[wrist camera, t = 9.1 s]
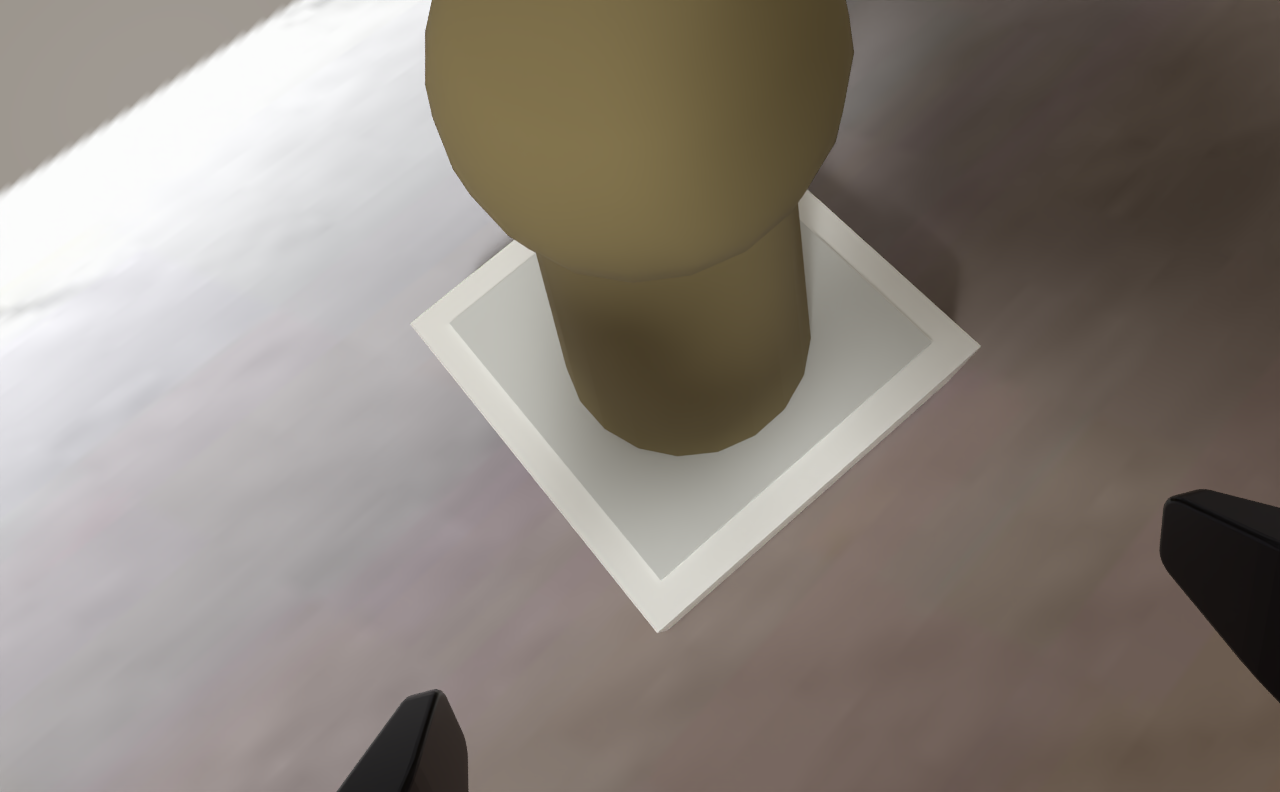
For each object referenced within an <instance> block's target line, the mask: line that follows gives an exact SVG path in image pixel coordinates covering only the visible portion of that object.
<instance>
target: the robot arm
mask: <svg viewBox="0 0 1280 792" xmlns="http://www.w3.org/2000/svg"><path fill="white" fill-rule="evenodd" d="M1160 557H1161V560H1162V563H1163V565H1164V567H1165V568H1166V570H1167V571H1168V573H1169V574H1170V575H1171V576H1172V578H1173V579H1174V580H1175V581H1176V583H1177V584H1178V585H1179V586H1180V587H1181V589H1182V590H1183V591H1184V592H1185V593H1186V595H1187V596H1188V597H1189V598H1190V600H1191V601H1192V602H1193V603H1194V604H1195V606H1196V607H1197V608H1198V609H1199V610H1200V612H1201V613H1202V614H1203V615H1204V617H1205V618H1206V619H1207V620H1208V621H1209V623H1210V624H1211V625H1212V626H1213V627H1214V629H1215V630H1216V631H1217V632H1218V634H1219V635H1220V636H1221V637H1222V638H1223V640H1224V641H1225V642H1226V643H1227V644H1228V646H1229V647H1230V648H1231V649H1232V651H1233V652H1234V653H1235V654H1236V655H1237V657H1238V658H1239V659H1240V660H1241V661H1242V662H1243V664H1244V665H1245V666H1246V667H1247V668H1248V669H1249V671H1250V672H1251V673H1252V674H1253V675H1254V676H1255V677H1256V679H1257V680H1258V681H1259V682H1260V683H1261V684H1262V685H1263V686H1264V687H1265V688H1266V689H1267V690H1268V691H1269V692H1270V693H1271V694H1272V695H1273V697H1274V698H1275V699H1276V700H1277V701H1278V702H1279V703H1280V508H1278V507H1275V506H1271V505H1267V504H1263V503H1259V502H1255V501H1251V500H1247V499H1243V498H1239V497H1235V496H1231V495H1227V494H1223V493H1219V492H1216V491H1212V490H1207V489H1199V490H1194V491H1190V492H1186V493H1182V494H1178V495H1174V496H1172V497H1170V498H1169V499H1168V500H1167V501H1166V503H1165V504H1164V508H1163V517H1162V528H1161V538H1160ZM337 792H468V753H467V746H466V741H465V738H464V735H463V732H462V730H461V728H460V726H459V724H458V721H457V719H456V717H455V715H454V713H453V710H452V708H451V706H450V704H449V702H448V699H447V697H446V695H445V694H444V693H443V692H442V691H441V690H438V689H434V690H430V691H426V692H422V693H419V694H415V695H411V696H409V697H407V698H406V699H405V700H404V701H403V702H402V703H401V704H400V706H399V707H398V708H397V710H396V711H395V713H394V714H393V715H392V717H391V718H390V719H389V721H388V722H387V723H386V725H385V726H384V728H383V729H382V730H381V732H380V733H379V734H378V736H377V737H376V739H375V740H374V741H373V743H372V744H371V745H370V747H369V748H368V749H367V751H366V752H365V754H364V755H363V756H362V758H361V759H360V760H359V762H358V763H357V765H356V766H355V767H354V769H353V770H352V771H351V773H350V774H349V775H348V777H347V778H346V780H345V781H344V782H343V784H342V785H341V786H340V788H339V789H338V791H337Z"/></svg>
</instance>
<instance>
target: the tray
mask: <svg viewBox="0 0 1280 792" xmlns="http://www.w3.org/2000/svg"><path fill="white" fill-rule="evenodd" d="M798 207H799V218H800V229H801V239H802V250H803V261H804V271H805V282H806V293H807V303H808V314H809V324H810V335H811V340H810V345H809V351H808V356H807V362H806V367H805V373H804V376H803V378H802V380H801V381H800V383H799V385H798V387H797V388H796V390H795V392H794V394H793V395H792V397H791V399H790V401H789V403H788V404H787V406H786V408H785V409H784V410H783V411H782V412H781V413H780V414H779V415H778V416H776V417H775V418H774V419H773V420H772V421H771V422H770V423H769V424H767V425H766V426H765V427H764V428H763V429H762V430H761V431H760V432H759V433H757V434H756V435H755V436H753V437H751V438H748V439H746V440H744V441H742V442H739V443H737V444H735V445H733V446H730V447H728V448H726V449H724V450H721V451H719V452H713V453H704V454H695V455H685V456H673V455H668V454H664V453H659V452H654V451H649V450H644V449H639V448H637V447H635V446H633V445H632V444H630V443H628V442H626V441H625V440H623V439H621V438H619V437H618V436H616V435H614V434H612V433H611V432H609V431H607V430H605V429H604V428H603V426H602V425H601V424H600V423H599V422H598V421H597V420H596V419H595V417H594V416H593V415H592V414H591V413H590V412H589V411H588V410H587V408H586V407H585V406H584V405H583V404H582V403H581V402H580V400H579V397H578V395H577V392H576V390H575V388H574V385H573V383H572V380H571V378H570V375H569V373H568V371H567V368H566V365H565V361H564V357H563V353H562V350H561V346H560V342H559V338H558V335H557V331H556V327H555V323H554V320H553V316H552V312H551V308H550V305H549V301H548V297H547V293H546V290H545V286H544V282H543V278H542V275H541V271H540V267H539V263H538V260H537V256H536V253H535V252H533V251H531V250H529V249H528V248H526V247H525V246H523V245H522V244H520V243H519V242H517V241H516V240H513V241H512V242H511V243H510V244H508V245H507V246H506V247H505V248H504V249H502V250H501V251H500V252H499V253H497V254H496V255H495V256H494V257H492V258H491V259H490V260H489V261H487V262H486V263H485V264H484V265H482V266H481V267H480V268H479V269H477V270H476V271H475V272H474V273H472V274H471V275H470V276H469V277H467V278H466V279H465V280H464V281H462V282H461V283H460V284H459V285H457V286H456V287H455V288H454V289H452V290H451V291H450V292H449V293H447V294H446V295H445V296H444V297H443V298H441V299H440V300H439V301H438V302H436V303H435V304H434V305H433V306H431V307H430V308H429V309H428V310H426V311H425V312H424V313H423V314H421V315H420V316H419V317H418V318H416V319H415V320H414V321H413V322H411V323H410V324H411V326H412V327H413V328H414V329H415V331H416V332H417V333H418V334H419V336H420V337H421V338H422V339H423V341H424V342H425V343H426V344H427V346H428V347H429V348H430V349H431V351H432V352H433V353H434V354H435V356H436V357H437V358H438V359H439V361H440V362H441V363H442V364H443V366H444V367H445V368H446V369H447V371H448V372H449V373H450V374H451V376H452V377H453V378H454V379H455V381H456V382H457V383H458V384H459V386H460V387H461V388H462V389H463V391H464V392H465V393H466V394H467V396H468V397H469V398H470V399H471V401H472V402H473V403H474V404H475V406H476V407H477V408H478V409H479V411H480V412H481V413H482V414H483V416H484V417H485V418H486V419H487V421H488V422H489V423H490V424H491V426H492V427H493V428H494V429H495V431H496V432H497V433H498V434H499V436H500V437H501V438H502V439H503V441H504V442H505V443H506V444H507V446H508V447H509V448H510V449H511V451H512V452H513V453H514V454H515V456H516V457H517V458H518V459H519V461H520V462H521V463H522V464H523V466H524V467H525V468H526V469H527V471H528V472H529V473H530V474H531V476H532V477H533V478H534V479H535V481H536V482H537V483H538V484H539V486H540V487H541V488H542V489H543V491H544V492H545V493H546V494H547V496H548V497H549V498H550V499H551V501H552V502H553V503H554V504H555V506H556V507H557V508H558V509H559V511H560V512H561V513H562V514H563V516H564V517H565V518H566V519H567V521H568V522H569V523H570V524H571V526H572V527H573V528H574V529H575V531H576V532H577V533H578V534H579V536H580V537H581V538H582V539H583V541H584V542H585V543H586V544H587V546H588V547H589V548H590V549H591V551H592V552H593V553H594V554H595V556H596V557H597V558H598V559H599V561H600V562H601V563H602V564H603V566H604V567H605V568H606V569H607V571H608V572H609V573H610V574H611V576H612V577H613V578H614V580H615V581H616V582H617V583H618V585H619V586H620V587H621V588H622V590H623V591H624V592H625V593H626V595H627V596H628V597H629V598H630V600H631V601H632V602H633V603H634V605H635V606H636V607H637V608H638V610H639V611H640V612H641V613H642V615H643V616H644V617H645V618H646V620H647V621H648V622H649V623H650V625H651V626H652V627H653V628H654V630H655V631H656V632H657V633H659V632H662V631H666V630H669V629H670V628H671V627H672V626H673V625H674V624H675V623H677V622H678V621H679V620H680V619H681V618H682V617H683V616H684V615H686V614H687V613H688V612H689V611H690V610H691V609H692V608H693V607H695V606H696V605H697V604H698V603H699V602H700V601H701V600H702V599H704V598H705V597H706V596H707V595H708V594H709V593H710V592H711V591H713V590H714V589H715V588H716V587H717V586H718V585H719V584H720V583H722V582H723V581H724V580H725V579H726V578H727V577H728V576H730V575H731V574H732V573H733V572H734V571H735V570H736V569H737V568H739V567H740V566H741V565H742V564H743V563H744V562H745V561H746V560H748V559H749V558H750V557H751V556H752V555H753V554H754V553H755V552H757V551H758V550H759V549H760V548H761V547H762V546H763V545H764V544H766V543H767V542H768V541H769V540H770V539H771V538H772V537H773V536H775V535H776V534H777V533H778V532H779V531H780V530H781V529H783V528H784V527H785V526H786V525H787V524H788V523H789V522H790V521H792V520H793V519H794V518H795V517H796V516H797V515H798V514H799V513H801V512H802V511H803V510H804V509H805V508H806V507H807V506H808V505H810V504H811V503H812V502H813V501H814V500H815V499H816V498H817V497H819V496H820V495H821V494H822V493H823V492H824V491H825V490H826V489H828V488H829V487H830V486H831V485H832V484H833V483H834V482H836V481H837V480H838V479H839V478H840V477H841V476H842V475H843V474H845V473H846V472H847V471H848V470H849V469H850V468H851V467H852V466H854V465H855V464H856V463H857V462H858V461H859V460H860V459H861V458H863V457H864V456H865V455H866V454H867V453H868V452H869V451H870V450H872V449H873V448H874V447H875V446H876V445H877V444H878V443H879V442H881V441H882V440H883V439H884V438H885V437H886V436H887V435H888V434H890V433H891V432H892V431H893V430H894V429H895V428H896V427H898V426H899V425H900V424H901V423H902V422H903V421H904V420H905V419H907V418H908V417H909V416H910V415H911V414H912V413H913V412H914V411H916V410H917V409H918V408H919V407H920V406H921V405H922V404H923V403H925V402H926V401H927V400H928V399H929V398H930V397H931V396H932V395H934V394H935V393H936V392H937V391H938V390H939V389H940V388H941V387H943V386H944V385H945V384H946V383H947V382H948V381H949V380H950V379H951V378H952V377H953V376H954V374H955V373H956V372H957V371H958V370H959V369H960V368H961V367H962V366H963V365H964V364H965V363H966V362H967V361H968V360H969V359H970V358H971V356H972V355H973V354H974V353H975V352H976V351H977V350H978V349H979V348H980V347H981V346H980V345H979V344H978V343H977V342H976V341H975V340H974V339H973V338H971V337H970V336H969V335H968V334H967V333H966V332H965V331H964V330H963V329H961V328H960V327H959V326H958V325H957V324H956V323H955V322H954V321H953V320H951V319H950V318H949V317H948V316H947V315H946V314H945V313H944V312H943V311H942V310H940V309H939V308H938V307H937V306H936V305H935V304H934V303H933V302H932V301H930V300H929V299H928V298H927V297H926V296H925V295H924V294H923V293H922V292H920V291H919V290H918V289H917V288H916V287H915V286H914V285H913V284H912V283H910V282H909V281H908V280H907V279H906V278H905V277H904V276H903V275H902V274H901V273H899V272H898V271H897V270H896V269H895V268H894V267H893V266H892V265H891V264H889V263H888V262H887V261H886V260H885V259H884V258H883V257H882V256H881V255H879V254H878V253H877V252H876V251H875V250H874V249H873V248H872V247H871V246H870V245H868V244H867V243H866V242H865V241H864V240H863V239H862V238H861V237H860V236H858V235H857V234H856V233H855V232H854V231H853V230H852V229H851V228H850V227H848V226H847V225H846V224H845V223H844V222H843V221H842V220H841V219H840V218H839V217H837V216H836V215H835V214H834V213H833V212H832V211H831V210H830V209H829V208H827V207H826V206H825V205H824V204H823V203H822V202H821V201H820V200H819V199H817V198H816V197H815V196H814V195H813V194H812V193H811V192H810V191H809V190H808V189H807V190H806V192H805V194H804V195H803V197H802V198H801V199H800V201H799V202H798Z"/></svg>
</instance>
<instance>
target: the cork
mask: <svg viewBox="0 0 1280 792" xmlns="http://www.w3.org/2000/svg"><path fill="white" fill-rule="evenodd" d="M853 55H854V49H853V42H852V34H851V27H850V19H849V14H848V9H847V4H846V0H432V3H431V7H430V12H429V16H428V21H427V26H426V30H425V86H426V91H427V95H428V99H429V104H430V108H431V113H432V117H433V120H434V122H435V125H436V127H437V130H438V133H439V135H440V138H441V140H442V143H443V145H444V148H445V150H446V153H447V155H448V158H449V160H450V163H451V165H452V168H453V170H454V171H455V173H456V174H457V176H458V177H459V179H460V180H461V182H462V183H463V185H464V186H465V188H466V189H467V191H468V192H469V194H470V195H471V196H472V197H473V198H474V199H475V201H476V202H477V203H478V204H479V205H480V206H481V207H482V208H483V209H484V210H485V211H486V212H487V213H488V214H489V216H490V217H491V218H492V219H493V220H494V221H495V222H496V223H497V224H498V225H499V226H500V227H501V228H502V230H503V231H504V232H505V233H506V234H507V235H508V236H510V237H511V238H513V239H514V240H516V241H517V242H519V243H520V244H522V245H523V246H525V247H526V248H528V249H529V250H531V251H533V252H535V253H536V256H537V260H538V263H539V267H540V271H541V275H542V278H543V282H544V286H545V290H546V293H547V297H548V301H549V305H550V308H551V312H552V316H553V320H554V323H555V327H556V331H557V335H558V338H559V342H560V346H561V350H562V353H563V357H564V361H565V365H566V368H567V371H568V373H569V375H570V378H571V380H572V383H573V385H574V388H575V390H576V392H577V395H578V397H579V400H580V402H581V403H582V404H583V405H584V406H585V407H586V408H587V410H588V411H589V412H590V413H591V414H592V415H593V416H594V417H595V419H596V420H597V421H598V422H599V423H600V424H601V425H602V426H603V428H604V429H605V430H607V431H609V432H611V433H612V434H614V435H616V436H618V437H619V438H621V439H623V440H625V441H626V442H628V443H630V444H632V445H633V446H635V447H637V448H639V449H644V450H649V451H654V452H659V453H664V454H668V455H673V456H685V455H695V454H704V453H713V452H719V451H721V450H724V449H726V448H728V447H730V446H733V445H735V444H737V443H739V442H742V441H744V440H746V439H748V438H751V437H753V436H755V435H756V434H757V433H759V432H760V431H761V430H762V429H763V428H764V427H765V426H766V425H767V424H769V423H770V422H771V421H772V420H773V419H774V418H775V417H776V416H778V415H779V414H780V413H781V412H782V411H783V410H784V409H785V408H786V406H787V404H788V403H789V401H790V399H791V397H792V395H793V394H794V392H795V390H796V388H797V387H798V385H799V383H800V381H801V380H802V378H803V376H804V373H805V367H806V362H807V356H808V351H809V345H810V340H811V335H810V324H809V314H808V303H807V293H806V282H805V271H804V261H803V250H802V239H801V229H800V218H799V207H798V202H799V201H800V199H801V198H802V197H803V195H804V194H805V192H806V190H807V189H808V187H809V185H810V184H811V182H812V180H813V179H814V177H815V175H816V174H817V172H818V170H819V169H820V167H821V165H822V164H823V162H824V160H825V159H826V157H827V155H828V154H829V152H830V150H831V149H832V147H833V145H834V144H835V142H836V138H837V134H838V130H839V125H840V121H841V117H842V113H843V108H844V103H845V98H846V92H847V87H848V82H849V76H850V71H851V66H852V60H853Z"/></svg>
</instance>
